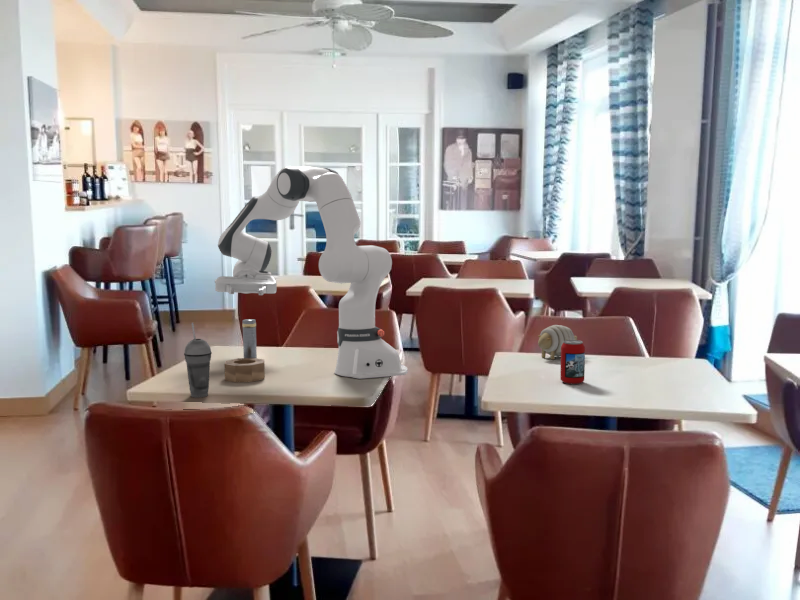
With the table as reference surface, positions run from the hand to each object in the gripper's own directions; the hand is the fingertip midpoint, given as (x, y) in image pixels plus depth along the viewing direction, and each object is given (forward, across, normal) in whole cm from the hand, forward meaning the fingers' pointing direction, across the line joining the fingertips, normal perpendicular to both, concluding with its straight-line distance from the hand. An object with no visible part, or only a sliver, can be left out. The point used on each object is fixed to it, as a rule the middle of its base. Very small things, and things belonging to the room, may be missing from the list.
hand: (246, 292), depth 250 cm
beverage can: (+57, +92, +6) cm, 108 cm away
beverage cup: (+48, -13, +14) cm, 52 cm away
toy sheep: (+22, +103, +13) cm, 106 cm away
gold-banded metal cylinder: (+19, +2, +20) cm, 27 cm away
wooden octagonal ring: (+29, 0, +18) cm, 34 cm away
